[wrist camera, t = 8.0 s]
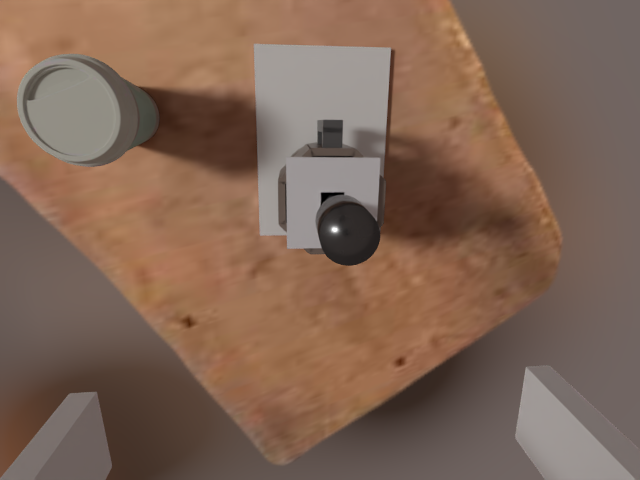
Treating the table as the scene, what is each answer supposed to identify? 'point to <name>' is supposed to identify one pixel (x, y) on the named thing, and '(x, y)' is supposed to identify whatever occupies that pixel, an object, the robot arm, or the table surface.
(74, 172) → the table surface
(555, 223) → the table surface
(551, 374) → the robot arm
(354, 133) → the mat
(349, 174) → the grey french press
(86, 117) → the coffee cup
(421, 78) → the table surface
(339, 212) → the plunger
